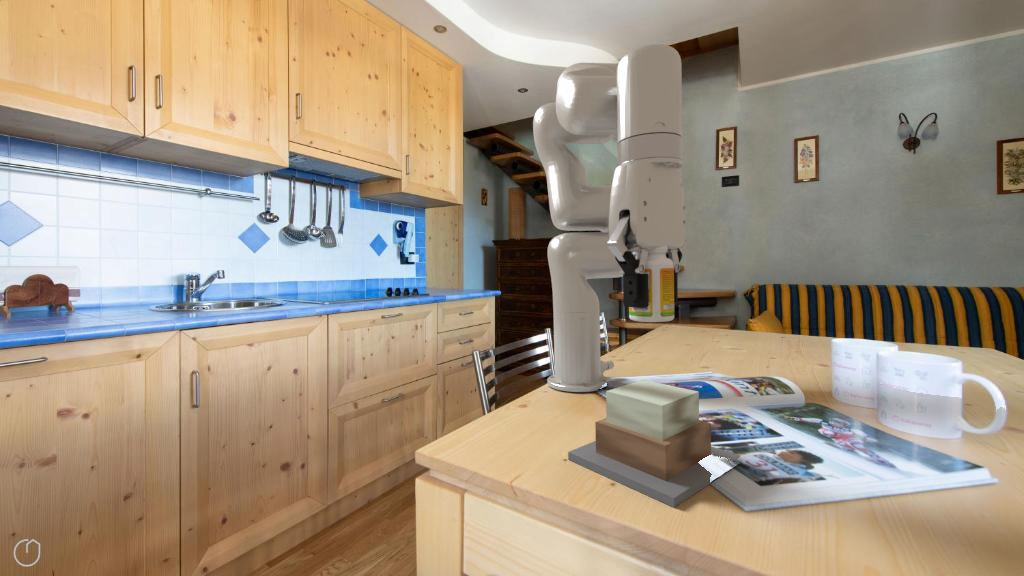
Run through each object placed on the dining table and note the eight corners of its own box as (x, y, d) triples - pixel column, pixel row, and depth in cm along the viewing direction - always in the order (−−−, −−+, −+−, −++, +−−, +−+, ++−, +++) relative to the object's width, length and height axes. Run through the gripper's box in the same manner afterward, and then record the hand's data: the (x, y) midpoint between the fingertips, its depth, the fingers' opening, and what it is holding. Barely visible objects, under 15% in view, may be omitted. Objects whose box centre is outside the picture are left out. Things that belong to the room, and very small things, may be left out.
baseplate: (638, 430, 66) (638, 423, 66) (740, 463, 54) (740, 455, 54) (568, 459, 57) (568, 451, 57) (673, 507, 45) (673, 498, 45)
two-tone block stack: (642, 432, 63) (641, 377, 62) (711, 455, 55) (710, 391, 54) (595, 452, 56) (594, 391, 56) (665, 481, 49) (665, 409, 48)
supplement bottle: (668, 316, 57) (667, 241, 57) (679, 322, 52) (679, 239, 51) (625, 317, 58) (624, 243, 57) (632, 322, 52) (631, 240, 52)
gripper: (661, 171, 62) (663, 299, 63) (578, 154, 51) (581, 309, 52) (714, 160, 56) (714, 301, 57) (632, 138, 45) (634, 313, 46)
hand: (651, 303), depth 55 cm, fingers closed on supplement bottle, 5 cm apart
